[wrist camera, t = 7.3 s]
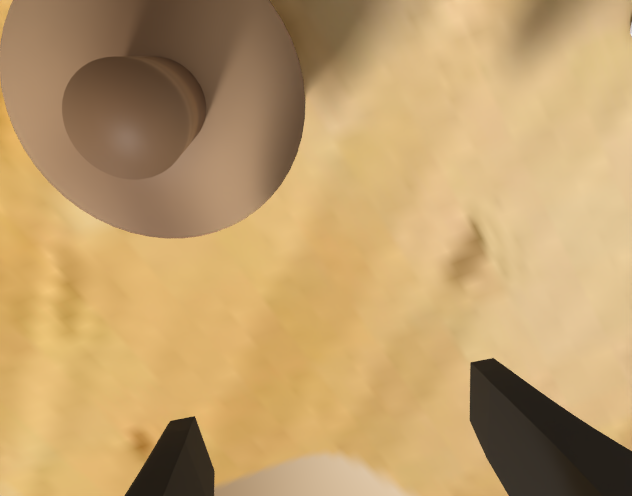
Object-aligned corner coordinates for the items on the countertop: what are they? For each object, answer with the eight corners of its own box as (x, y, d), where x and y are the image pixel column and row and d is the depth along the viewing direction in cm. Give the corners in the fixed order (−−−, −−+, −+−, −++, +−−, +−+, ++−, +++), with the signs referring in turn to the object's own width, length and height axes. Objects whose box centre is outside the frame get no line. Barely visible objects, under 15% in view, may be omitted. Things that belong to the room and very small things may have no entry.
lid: (296, -63, 12) (313, -124, 8) (306, 219, 16) (322, 277, 11) (-25, -62, 11) (-189, -128, 7) (62, 235, 15) (-14, 303, 11)
